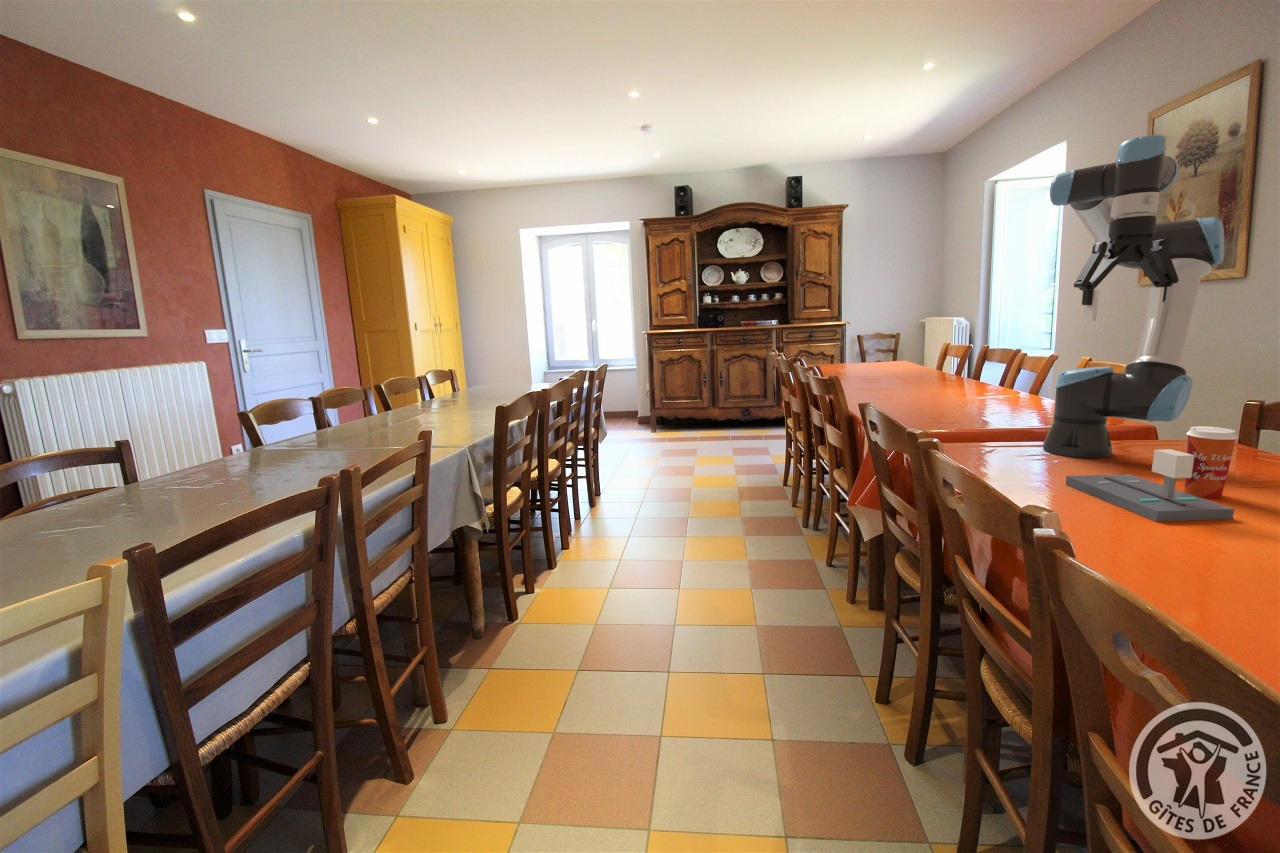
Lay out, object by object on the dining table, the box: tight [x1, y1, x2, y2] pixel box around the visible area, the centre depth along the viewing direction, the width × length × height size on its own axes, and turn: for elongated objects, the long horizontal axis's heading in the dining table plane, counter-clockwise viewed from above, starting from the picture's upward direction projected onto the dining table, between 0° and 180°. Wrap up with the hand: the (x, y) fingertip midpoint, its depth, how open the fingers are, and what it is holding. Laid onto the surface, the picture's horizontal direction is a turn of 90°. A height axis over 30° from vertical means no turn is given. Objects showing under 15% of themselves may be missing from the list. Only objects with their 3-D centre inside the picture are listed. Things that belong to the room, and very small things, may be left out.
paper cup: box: [1184, 426, 1240, 499], centre depth 120 cm, size 8×8×14 cm
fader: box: [1151, 448, 1194, 499], centre depth 112 cm, size 5×3×9 cm, turn 179°
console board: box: [1065, 473, 1235, 522], centre depth 119 cm, size 24×14×2 cm, turn 179°
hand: (1121, 319), depth 125 cm, fingers open, 13 cm apart
